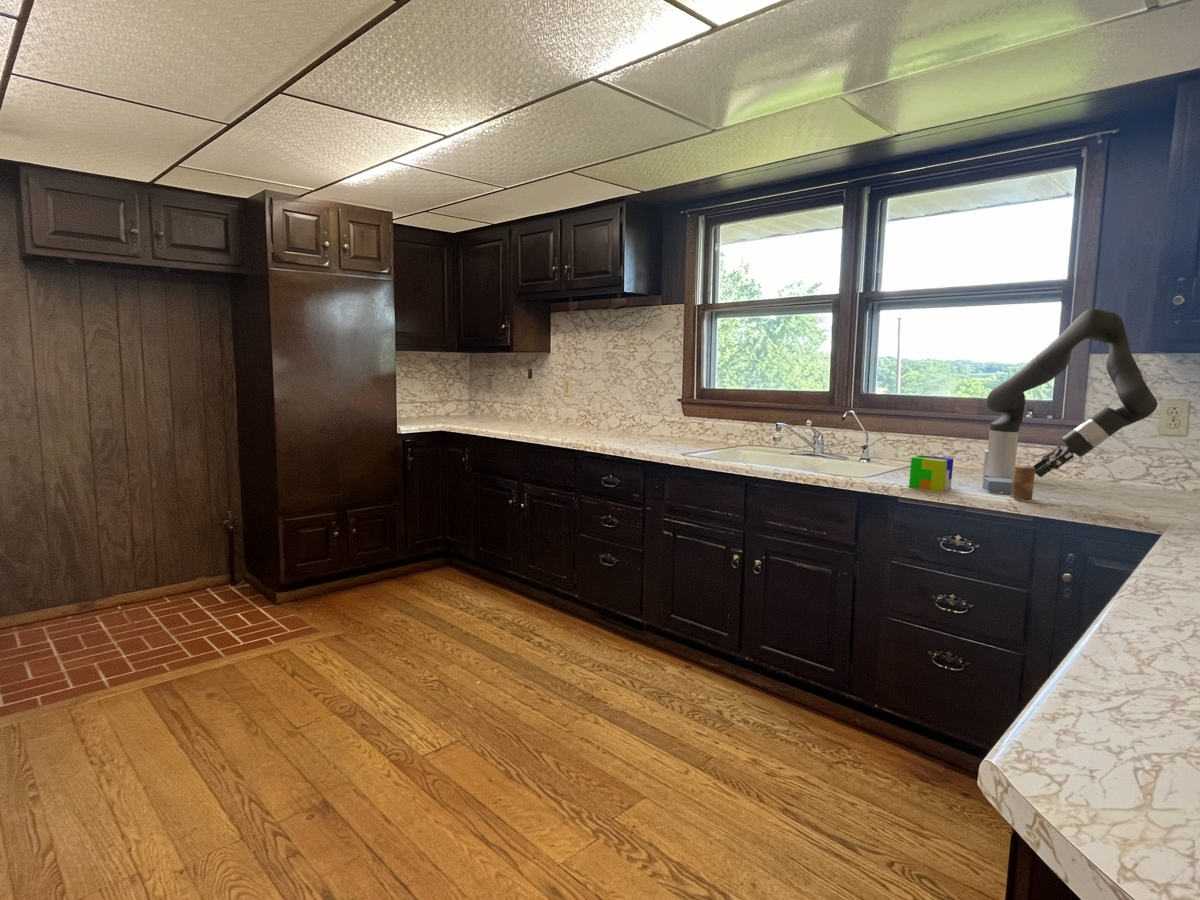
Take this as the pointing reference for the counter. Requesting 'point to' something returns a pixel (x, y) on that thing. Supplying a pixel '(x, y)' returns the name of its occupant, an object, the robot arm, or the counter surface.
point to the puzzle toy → (931, 473)
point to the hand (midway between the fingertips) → (1035, 472)
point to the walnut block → (1022, 482)
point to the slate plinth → (997, 484)
